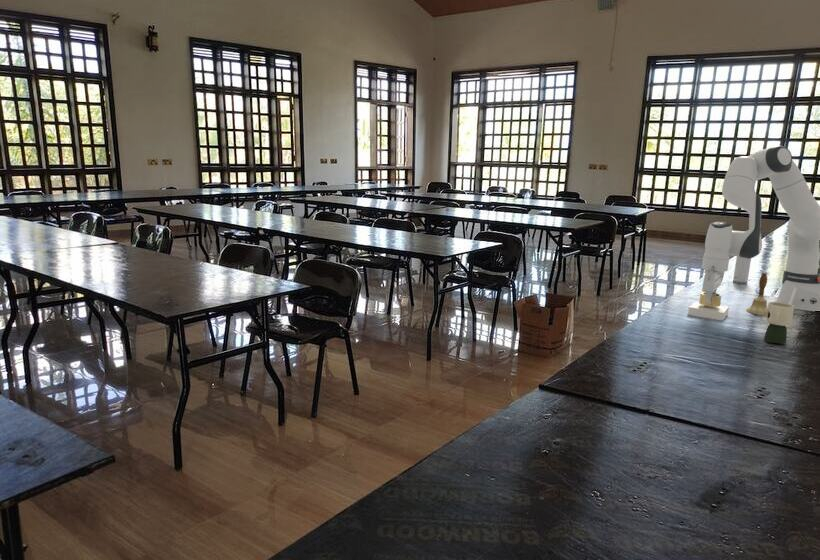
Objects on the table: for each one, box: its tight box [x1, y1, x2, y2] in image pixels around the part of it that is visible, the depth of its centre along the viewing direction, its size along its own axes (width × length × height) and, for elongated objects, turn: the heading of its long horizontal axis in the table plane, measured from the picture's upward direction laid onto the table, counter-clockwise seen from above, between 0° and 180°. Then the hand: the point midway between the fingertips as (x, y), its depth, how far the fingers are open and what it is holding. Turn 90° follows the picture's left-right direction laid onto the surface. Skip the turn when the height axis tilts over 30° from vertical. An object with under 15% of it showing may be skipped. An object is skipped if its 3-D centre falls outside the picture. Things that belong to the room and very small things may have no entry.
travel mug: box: [732, 256, 752, 285], centre depth 285 cm, size 6×7×20 cm
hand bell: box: [745, 272, 768, 316], centre depth 228 cm, size 8×8×16 cm
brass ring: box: [698, 291, 722, 307], centre depth 222 cm, size 7×7×4 cm
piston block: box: [687, 294, 730, 322], centre depth 222 cm, size 12×12×8 cm
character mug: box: [763, 301, 795, 345], centre depth 188 cm, size 11×7×13 cm, turn 140°
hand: (709, 300), depth 222 cm, fingers closed on brass ring, 7 cm apart
